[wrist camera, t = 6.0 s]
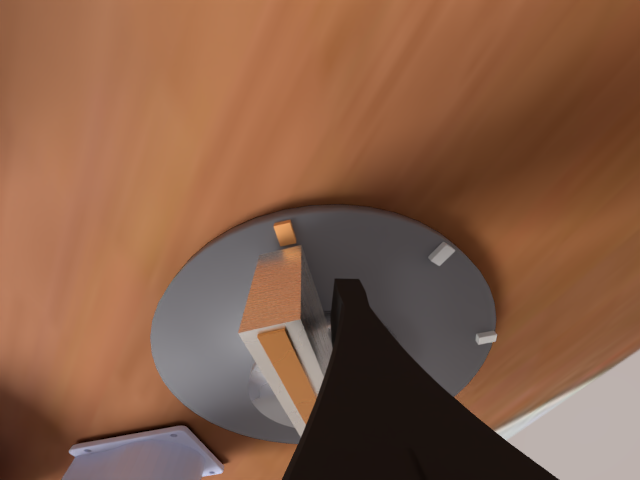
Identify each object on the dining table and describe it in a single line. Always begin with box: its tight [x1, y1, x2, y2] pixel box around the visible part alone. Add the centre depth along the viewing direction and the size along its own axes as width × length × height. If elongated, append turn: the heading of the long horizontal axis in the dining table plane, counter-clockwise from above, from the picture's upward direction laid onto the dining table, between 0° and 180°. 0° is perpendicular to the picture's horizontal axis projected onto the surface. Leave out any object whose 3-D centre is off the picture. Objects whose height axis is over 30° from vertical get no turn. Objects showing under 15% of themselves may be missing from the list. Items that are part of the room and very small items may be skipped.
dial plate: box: [150, 204, 497, 444], centre depth 16 cm, size 20×20×1 cm
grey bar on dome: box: [238, 245, 400, 437], centre depth 12 cm, size 14×9×5 cm, turn 14°
